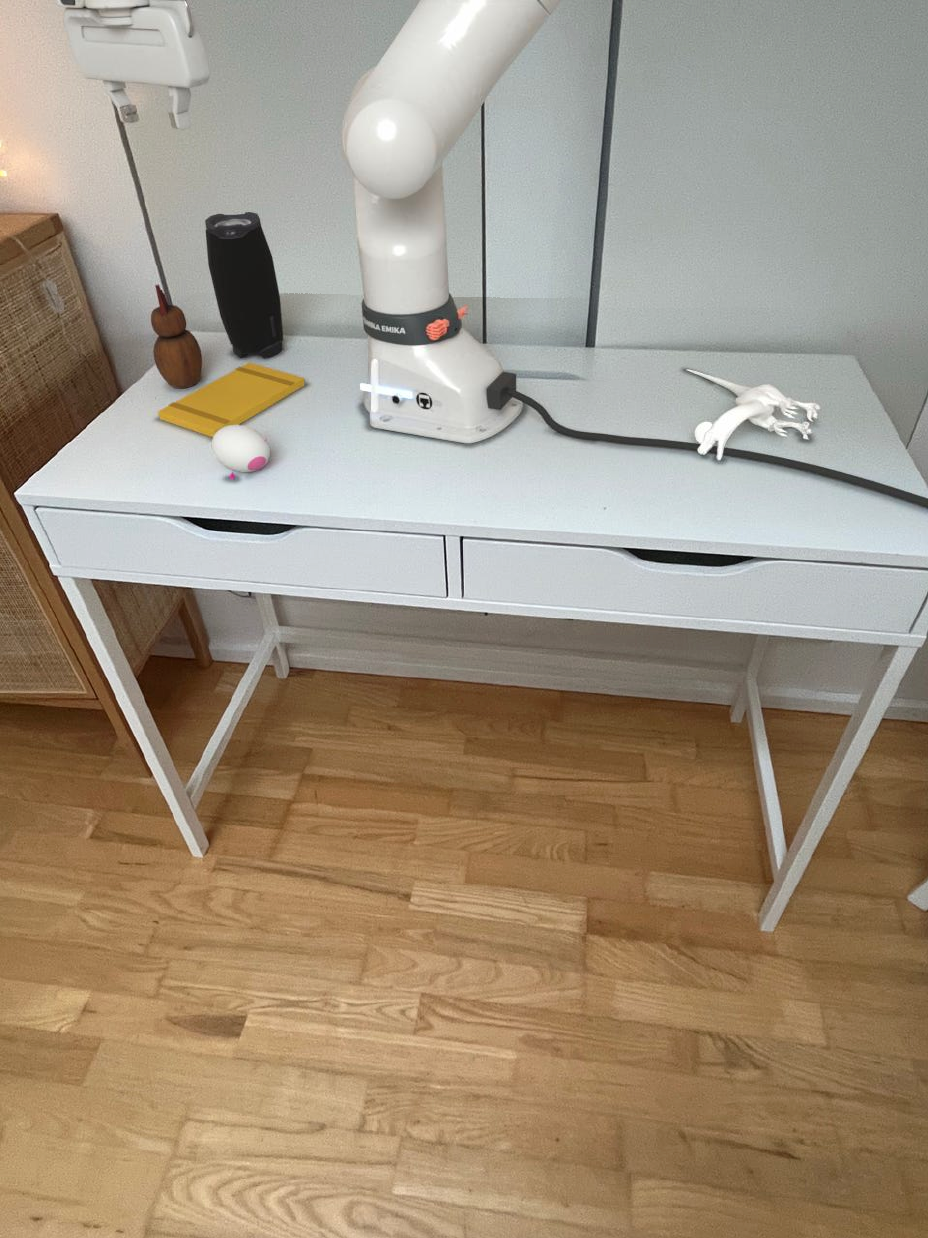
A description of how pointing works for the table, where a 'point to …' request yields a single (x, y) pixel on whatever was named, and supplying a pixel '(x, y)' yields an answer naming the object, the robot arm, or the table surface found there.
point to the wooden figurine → (175, 345)
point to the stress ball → (240, 448)
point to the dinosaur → (750, 414)
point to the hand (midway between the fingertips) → (155, 125)
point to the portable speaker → (245, 283)
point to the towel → (231, 399)
